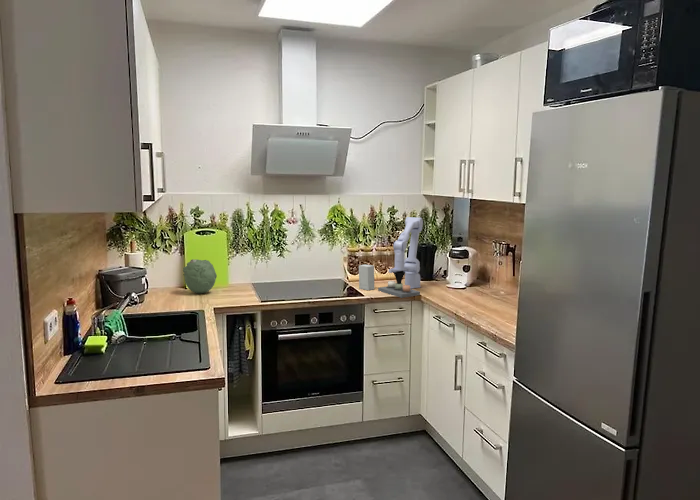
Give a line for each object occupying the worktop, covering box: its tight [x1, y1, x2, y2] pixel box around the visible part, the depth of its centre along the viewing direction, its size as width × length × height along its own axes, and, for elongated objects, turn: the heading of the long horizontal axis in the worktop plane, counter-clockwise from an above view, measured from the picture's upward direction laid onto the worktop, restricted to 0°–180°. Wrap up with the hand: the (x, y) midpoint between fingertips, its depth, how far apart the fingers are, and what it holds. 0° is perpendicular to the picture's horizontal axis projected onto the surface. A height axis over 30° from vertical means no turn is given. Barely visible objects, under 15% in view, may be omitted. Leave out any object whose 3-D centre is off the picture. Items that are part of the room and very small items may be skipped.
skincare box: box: [358, 263, 375, 291], centre depth 311 cm, size 8×6×15 cm
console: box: [377, 285, 421, 299], centre depth 302 cm, size 14×22×2 cm, turn 34°
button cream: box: [387, 280, 396, 287], centre depth 307 cm, size 4×4×3 cm
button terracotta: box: [403, 284, 410, 292], centre depth 296 cm, size 4×4×3 cm
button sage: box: [395, 282, 404, 289], centre depth 302 cm, size 4×4×3 cm
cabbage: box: [182, 259, 218, 294], centre depth 293 cm, size 16×19×20 cm
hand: (398, 283), depth 301 cm, fingers closed, pressing on button sage
